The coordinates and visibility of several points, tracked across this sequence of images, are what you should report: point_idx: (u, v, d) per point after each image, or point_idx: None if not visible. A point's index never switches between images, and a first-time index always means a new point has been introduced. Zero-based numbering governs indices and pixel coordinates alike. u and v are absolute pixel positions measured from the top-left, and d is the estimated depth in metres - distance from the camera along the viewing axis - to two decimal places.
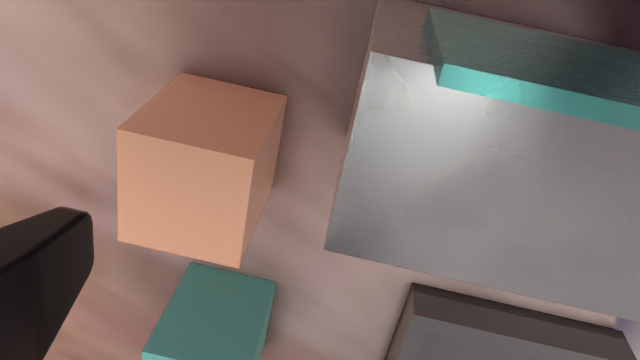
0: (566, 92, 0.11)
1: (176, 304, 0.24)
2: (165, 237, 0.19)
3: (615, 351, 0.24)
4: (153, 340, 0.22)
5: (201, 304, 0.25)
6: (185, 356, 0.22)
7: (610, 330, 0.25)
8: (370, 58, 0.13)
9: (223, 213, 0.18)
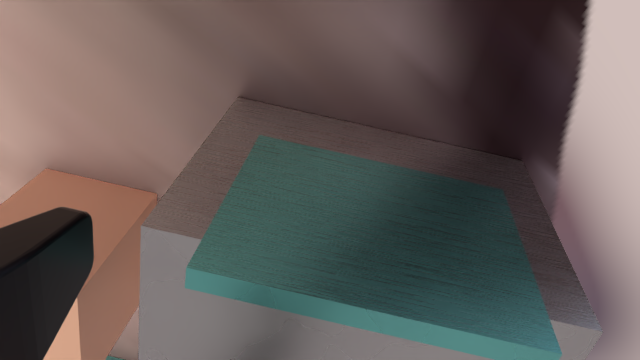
0: (324, 300, 0.10)
1: None
2: None
3: None
4: None
5: None
6: None
7: None
8: (141, 232, 0.11)
9: (56, 344, 0.17)
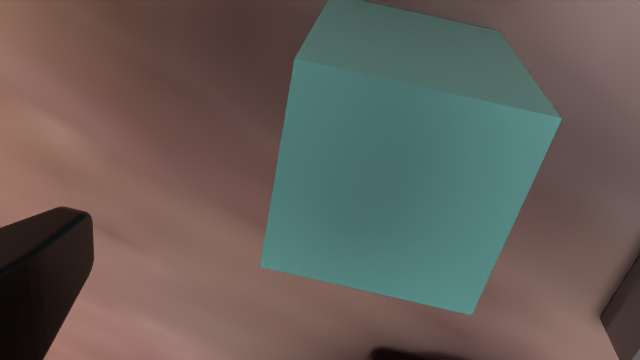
0: None
1: (334, 22, 0.11)
2: None
3: None
4: (312, 50, 0.09)
5: (383, 29, 0.12)
6: (397, 77, 0.09)
7: None
8: None
9: None
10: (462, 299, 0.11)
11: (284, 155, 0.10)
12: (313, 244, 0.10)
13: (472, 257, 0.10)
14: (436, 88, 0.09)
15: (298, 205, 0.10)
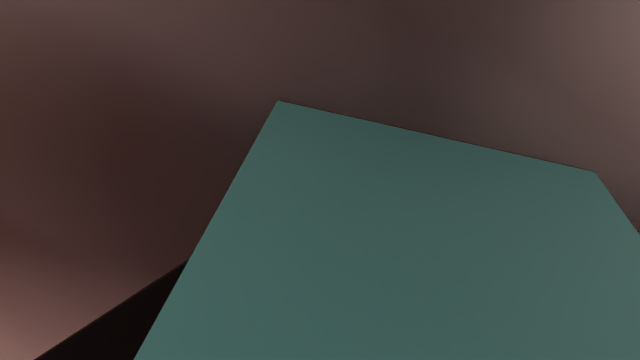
0: None
1: (251, 228, 0.05)
2: None
3: None
4: None
5: (370, 232, 0.05)
6: None
7: None
8: None
9: None
10: None
11: None
12: None
13: None
14: None
15: None
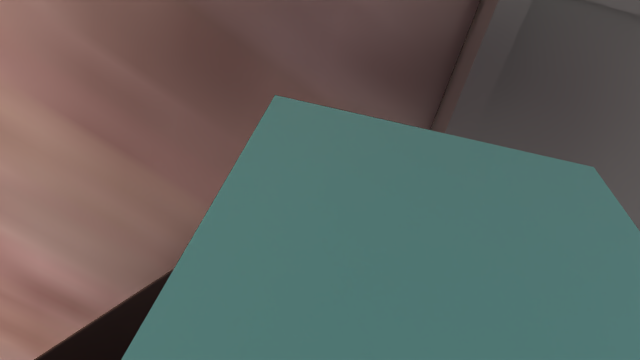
0: None
1: (247, 221, 0.05)
2: None
3: None
4: None
5: (367, 226, 0.05)
6: None
7: None
8: None
9: None
10: None
11: None
12: None
13: None
14: None
15: None
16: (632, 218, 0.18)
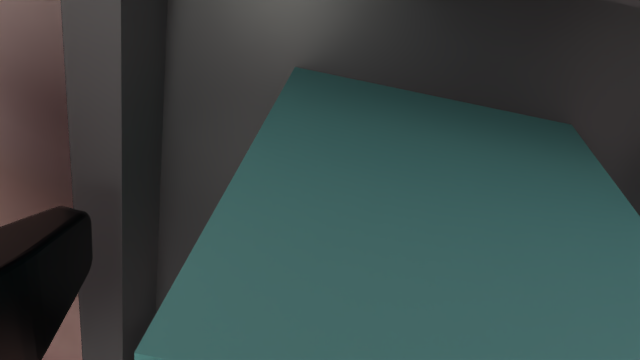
0: None
1: (282, 154, 0.06)
2: None
3: None
4: (201, 288, 0.04)
5: (377, 161, 0.06)
6: None
7: None
8: None
9: None
10: None
11: None
12: None
13: None
14: None
15: None
16: None
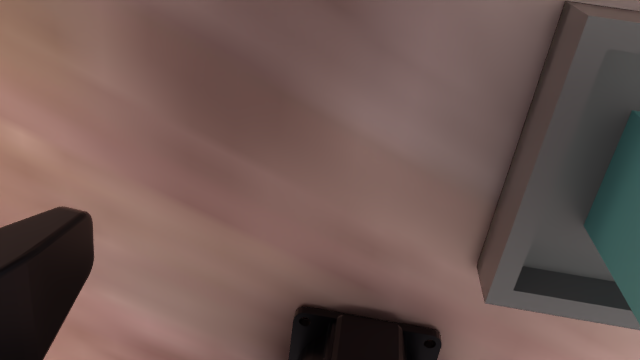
0: None
1: None
2: None
3: None
4: None
5: None
6: None
7: None
8: None
9: None
10: None
11: None
12: None
13: None
14: None
15: None
16: None
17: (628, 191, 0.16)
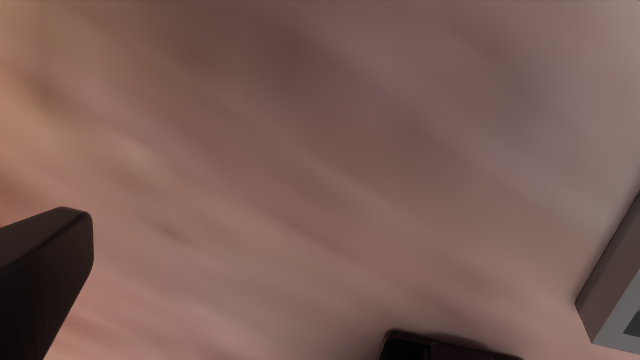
0: None
1: None
2: None
3: None
4: None
5: None
6: None
7: None
8: None
9: None
10: None
11: None
12: None
13: None
14: None
15: None
16: None
17: None
